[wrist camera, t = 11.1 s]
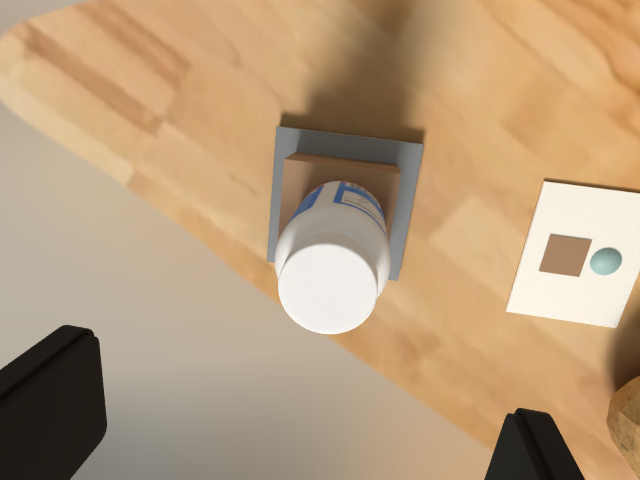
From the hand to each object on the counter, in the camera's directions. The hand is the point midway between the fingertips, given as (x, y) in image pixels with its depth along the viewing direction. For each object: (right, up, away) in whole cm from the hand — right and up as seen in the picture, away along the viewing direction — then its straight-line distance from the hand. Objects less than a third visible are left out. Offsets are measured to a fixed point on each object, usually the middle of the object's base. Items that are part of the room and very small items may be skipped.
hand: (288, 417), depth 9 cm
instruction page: (+19, +3, +20) cm, 28 cm away
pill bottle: (+2, +5, +16) cm, 17 cm away
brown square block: (+2, +6, +20) cm, 21 cm away
